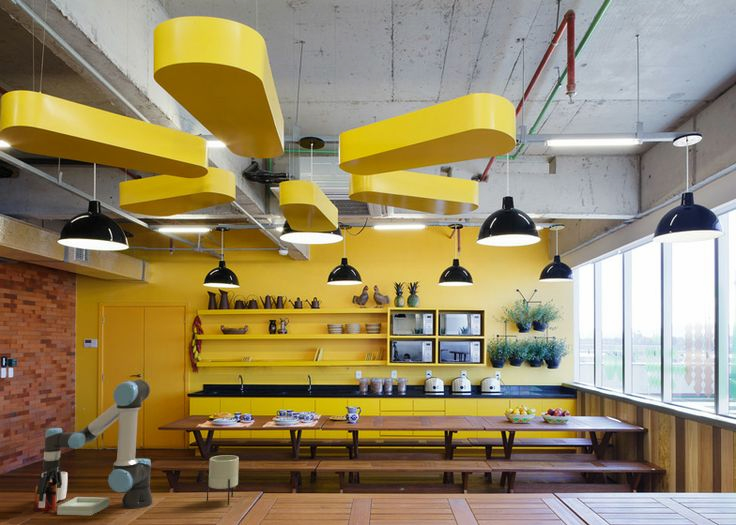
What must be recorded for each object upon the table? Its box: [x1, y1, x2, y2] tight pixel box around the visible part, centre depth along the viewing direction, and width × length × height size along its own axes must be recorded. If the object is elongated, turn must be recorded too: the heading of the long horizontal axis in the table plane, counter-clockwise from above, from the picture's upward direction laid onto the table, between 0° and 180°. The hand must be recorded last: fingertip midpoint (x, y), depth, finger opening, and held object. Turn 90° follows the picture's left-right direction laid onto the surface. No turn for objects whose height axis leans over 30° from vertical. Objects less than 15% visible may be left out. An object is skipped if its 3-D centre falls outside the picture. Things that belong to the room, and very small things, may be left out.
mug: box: [33, 481, 57, 513], centre depth 288 cm, size 10×14×12 cm
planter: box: [206, 454, 240, 506], centre depth 302 cm, size 15×16×23 cm
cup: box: [49, 471, 69, 501], centre depth 302 cm, size 8×8×14 cm
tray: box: [56, 496, 110, 516], centre depth 286 cm, size 18×16×4 cm
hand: (48, 504), depth 287 cm, fingers closed on mug, 10 cm apart
